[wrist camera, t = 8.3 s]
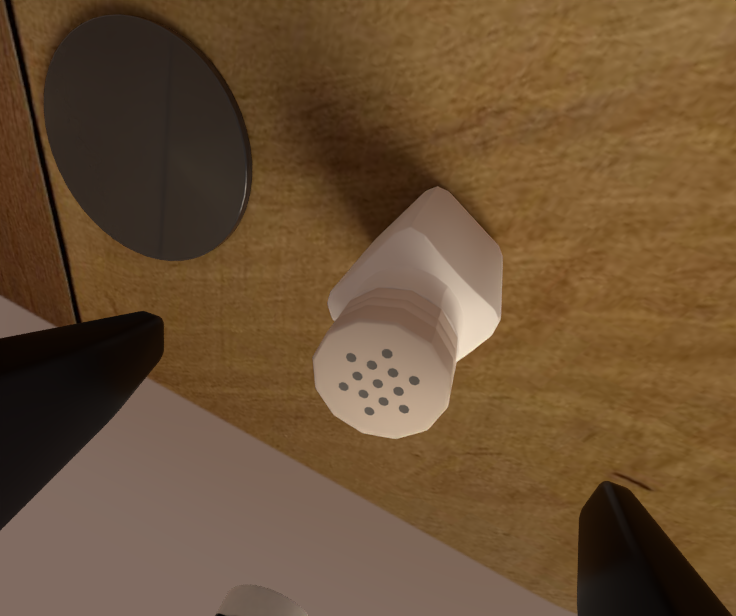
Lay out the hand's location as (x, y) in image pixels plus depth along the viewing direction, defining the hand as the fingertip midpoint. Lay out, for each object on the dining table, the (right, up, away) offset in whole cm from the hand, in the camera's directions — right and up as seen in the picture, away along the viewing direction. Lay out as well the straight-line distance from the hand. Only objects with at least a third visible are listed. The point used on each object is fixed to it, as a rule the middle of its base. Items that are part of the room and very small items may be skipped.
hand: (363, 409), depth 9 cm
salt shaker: (+3, +4, +10) cm, 11 cm away
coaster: (-10, +9, +11) cm, 17 cm away
